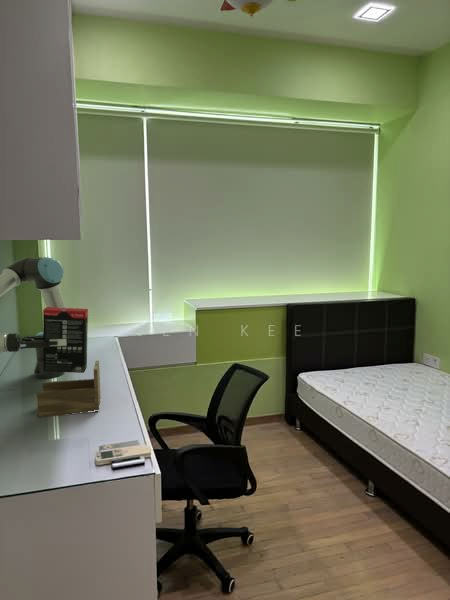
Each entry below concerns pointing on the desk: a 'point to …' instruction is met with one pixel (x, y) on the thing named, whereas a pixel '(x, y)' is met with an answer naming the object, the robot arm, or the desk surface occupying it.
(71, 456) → the desk surface
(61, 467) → the desk surface
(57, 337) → the graphics card box
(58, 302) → the robot arm
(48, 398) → the walnut shelf slot
